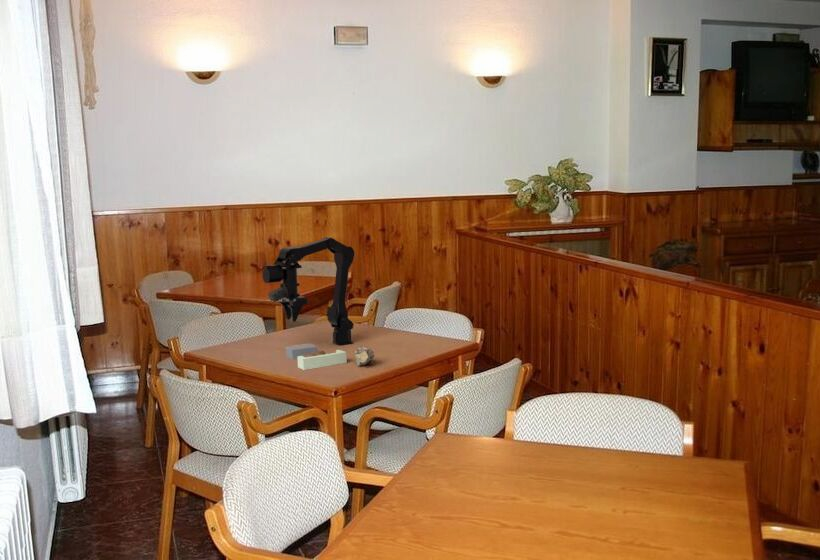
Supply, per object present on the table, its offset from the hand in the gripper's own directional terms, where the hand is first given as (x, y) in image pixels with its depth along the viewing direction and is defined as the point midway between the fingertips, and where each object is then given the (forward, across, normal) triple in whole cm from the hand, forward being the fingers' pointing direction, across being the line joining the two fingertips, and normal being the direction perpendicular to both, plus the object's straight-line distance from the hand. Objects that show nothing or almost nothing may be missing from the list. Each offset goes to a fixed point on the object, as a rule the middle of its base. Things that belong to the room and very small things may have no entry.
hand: (291, 320), depth 322 cm
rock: (+13, +33, +13) cm, 38 cm away
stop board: (+12, +26, 0) cm, 28 cm away
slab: (+13, +8, 0) cm, 15 cm away
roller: (+11, +20, 0) cm, 23 cm away
